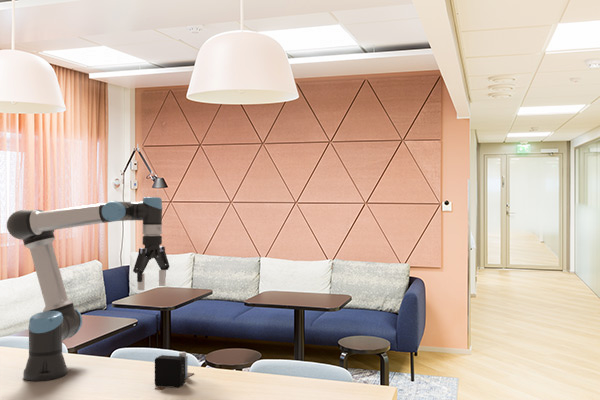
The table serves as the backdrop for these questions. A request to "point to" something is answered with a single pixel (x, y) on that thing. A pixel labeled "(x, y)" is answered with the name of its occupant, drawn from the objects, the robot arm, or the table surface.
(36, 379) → the robot arm
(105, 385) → the table surface
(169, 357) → the electronic device
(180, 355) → the marker peg
